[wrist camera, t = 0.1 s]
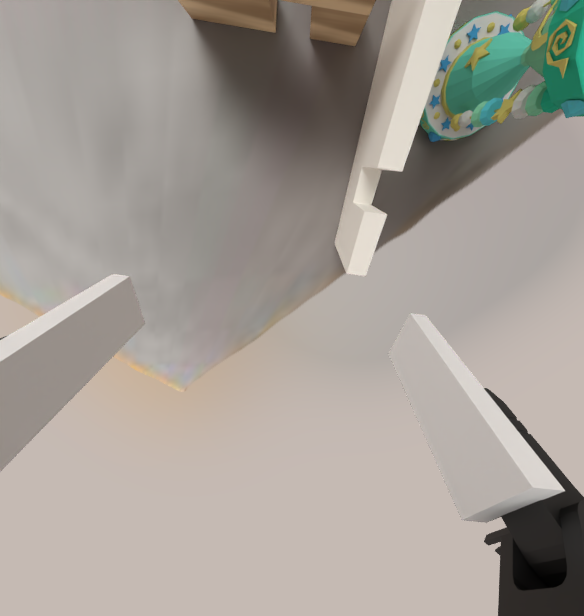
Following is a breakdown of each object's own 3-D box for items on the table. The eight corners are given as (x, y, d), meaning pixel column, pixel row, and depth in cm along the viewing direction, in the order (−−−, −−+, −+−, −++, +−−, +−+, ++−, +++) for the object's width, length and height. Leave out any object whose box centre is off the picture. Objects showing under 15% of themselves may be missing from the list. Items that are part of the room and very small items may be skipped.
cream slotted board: (394, -12, 22) (472, -161, 12) (417, -8, 22) (514, -152, 12) (334, 243, 36) (346, 273, 26) (348, 245, 36) (365, 276, 26)
